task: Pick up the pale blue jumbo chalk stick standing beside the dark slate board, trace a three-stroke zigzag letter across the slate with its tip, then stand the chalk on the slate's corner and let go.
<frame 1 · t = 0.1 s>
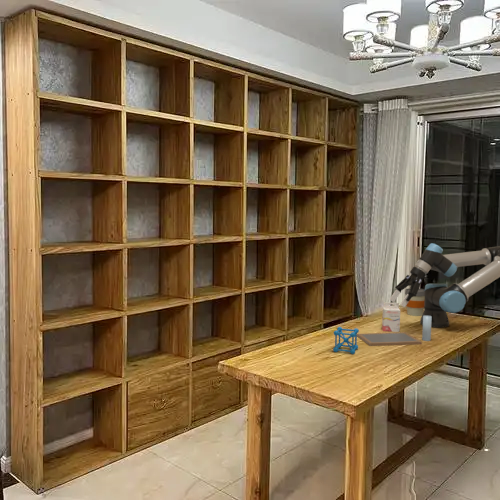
hand: (396, 303, 276), 15 cm above the table, tool tilted 35°, fingers open, 13 cm apart
molecular structure: (345, 351, 243), on the table
ink cartridge box: (390, 330, 281), on the table
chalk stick: (426, 339, 262), on the table
slate board: (388, 340, 262), on the table
reusable coffee cup: (415, 314, 321), on the table
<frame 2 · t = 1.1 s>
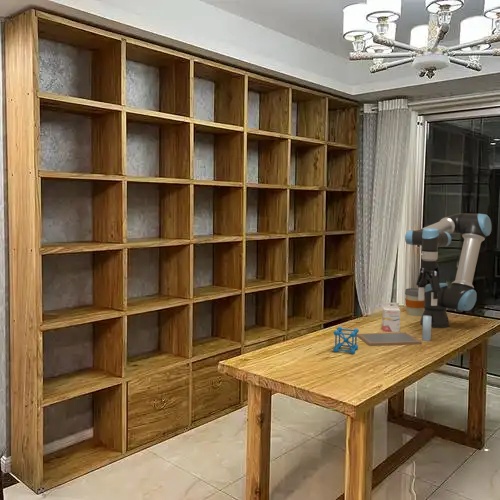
hand: (427, 302, 261), 19 cm above the table, tool pointing down, fingers open, 13 cm apart
nothing on the table moved.
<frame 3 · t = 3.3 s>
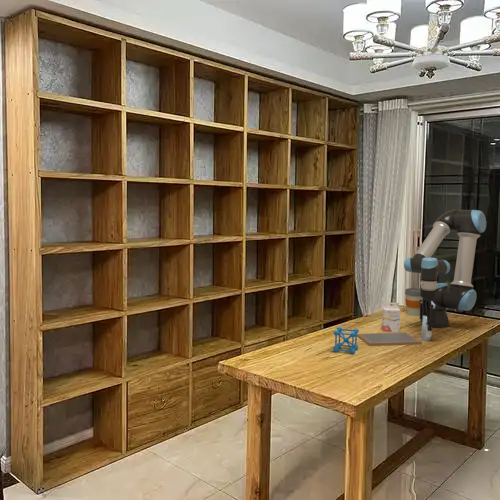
hand: (426, 335, 262), 2 cm above the table, tool pointing down, fingers closed on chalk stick, 4 cm apart
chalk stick: (426, 339, 263), on the table, touching gripper
everything else where it was.
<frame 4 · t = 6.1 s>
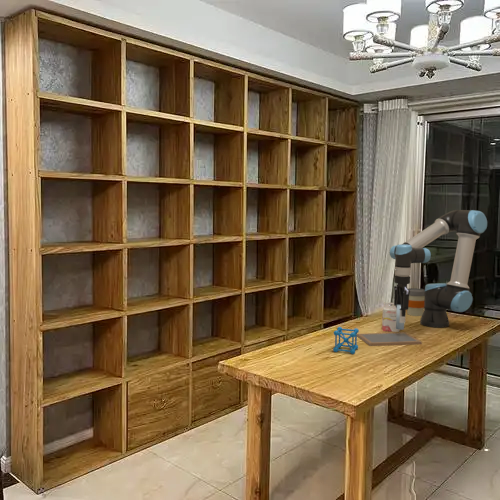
hand: (400, 321, 266), 8 cm above the table, tool pointing down, fingers closed on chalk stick, 4 cm apart
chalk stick: (399, 328, 266), point 5 cm above the table, touching gripper
everything else where it was.
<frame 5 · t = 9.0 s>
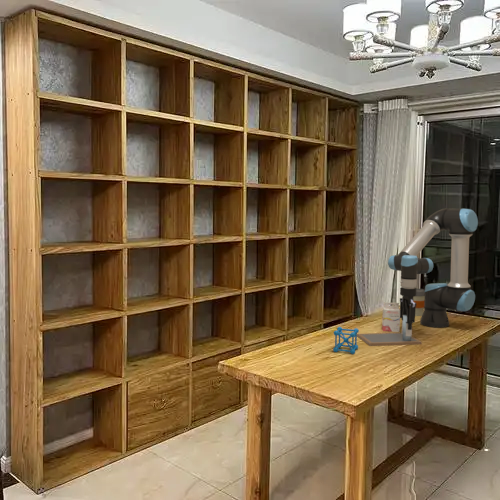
hand: (406, 334, 258), 4 cm above the table, tool pointing down, fingers closed on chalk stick, 4 cm apart
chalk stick: (406, 339, 258), point 1 cm above the table, touching gripper
everything else where it was.
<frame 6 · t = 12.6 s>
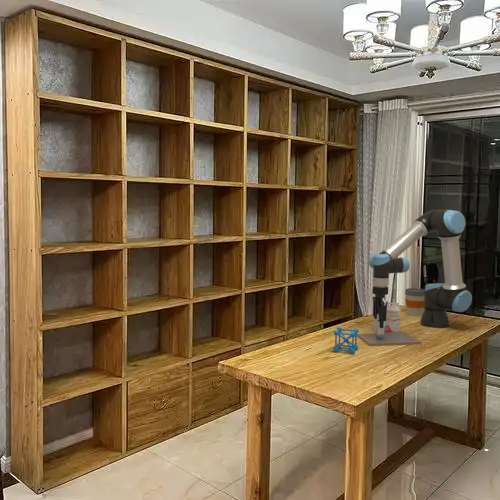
hand: (378, 332, 260), 4 cm above the table, tool pointing down, fingers closed on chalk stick, 4 cm apart
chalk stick: (380, 338, 261), point 1 cm above the table, touching gripper
everything else where it was.
when the fingers open (4 cm above the table, at t = 15.1 s): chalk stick stays where it is, resting on slate board.
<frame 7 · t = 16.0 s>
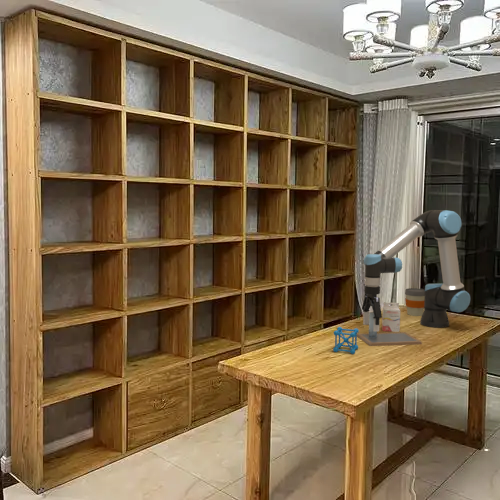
hand: (371, 327, 263), 6 cm above the table, tool pointing down, fingers open, 13 cm apart
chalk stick: (372, 336, 263), point 1 cm above the table, touching slate board
everything else where it was.
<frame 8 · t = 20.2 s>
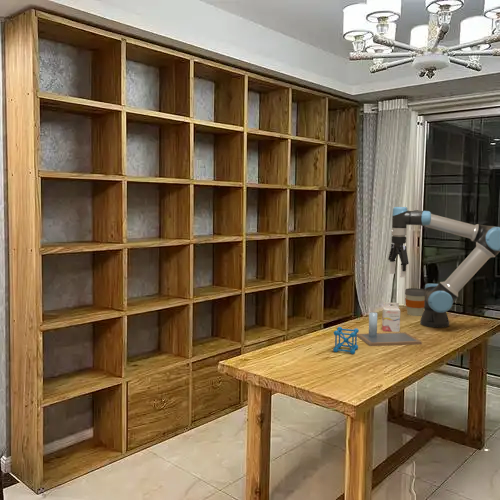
hand: (397, 275, 283), 29 cm above the table, tool pointing down, fingers open, 13 cm apart
nothing on the table moved.
at the end: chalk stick inside the target area (1.0 cm from its centre), point 1.2 cm above the table; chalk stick tilted 1°; the gripper is holding nothing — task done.
